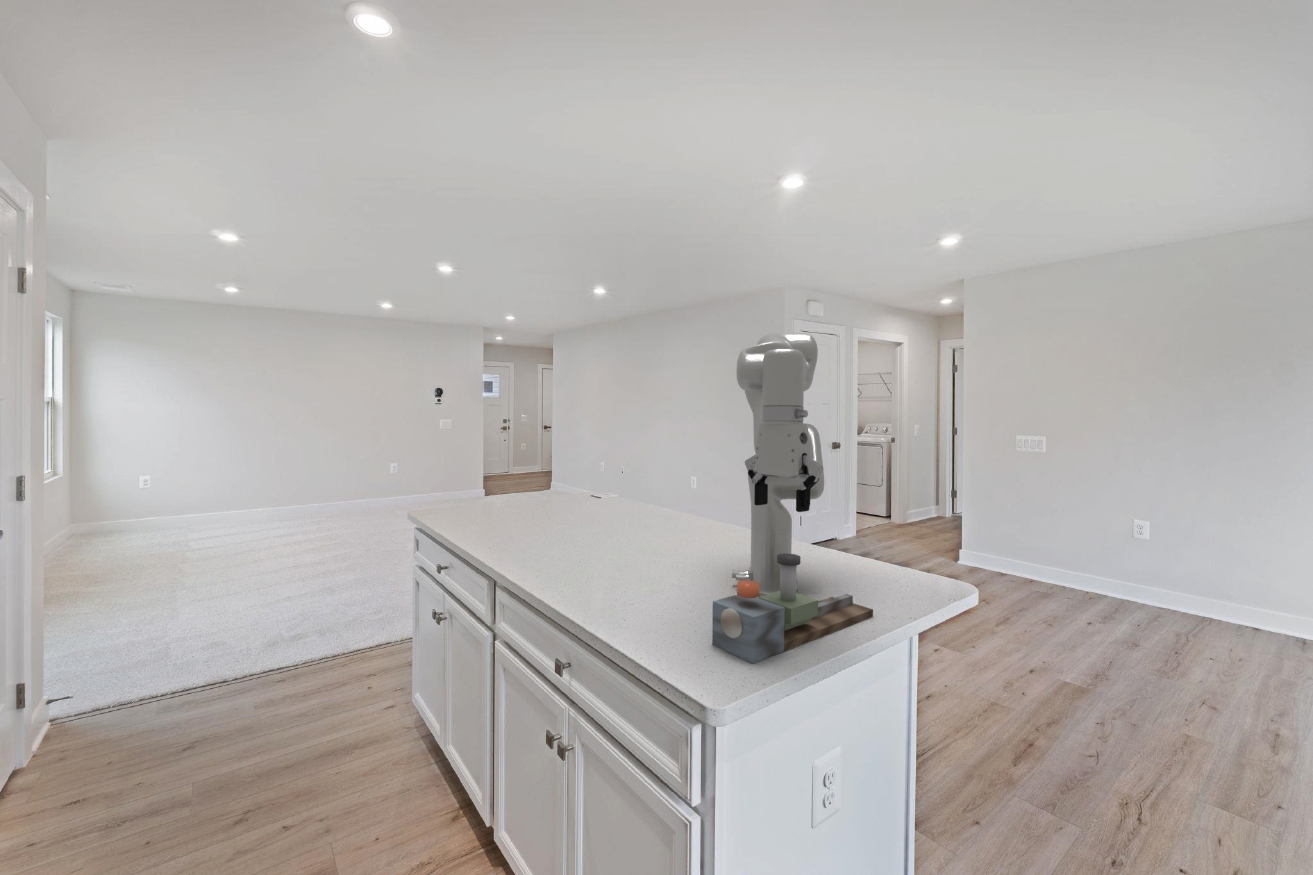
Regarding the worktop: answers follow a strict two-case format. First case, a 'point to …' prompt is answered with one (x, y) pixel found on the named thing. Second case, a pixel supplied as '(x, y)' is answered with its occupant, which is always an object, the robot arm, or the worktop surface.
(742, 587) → the button
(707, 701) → the worktop surface
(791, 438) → the robot arm
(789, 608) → the block
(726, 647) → the rail stand
